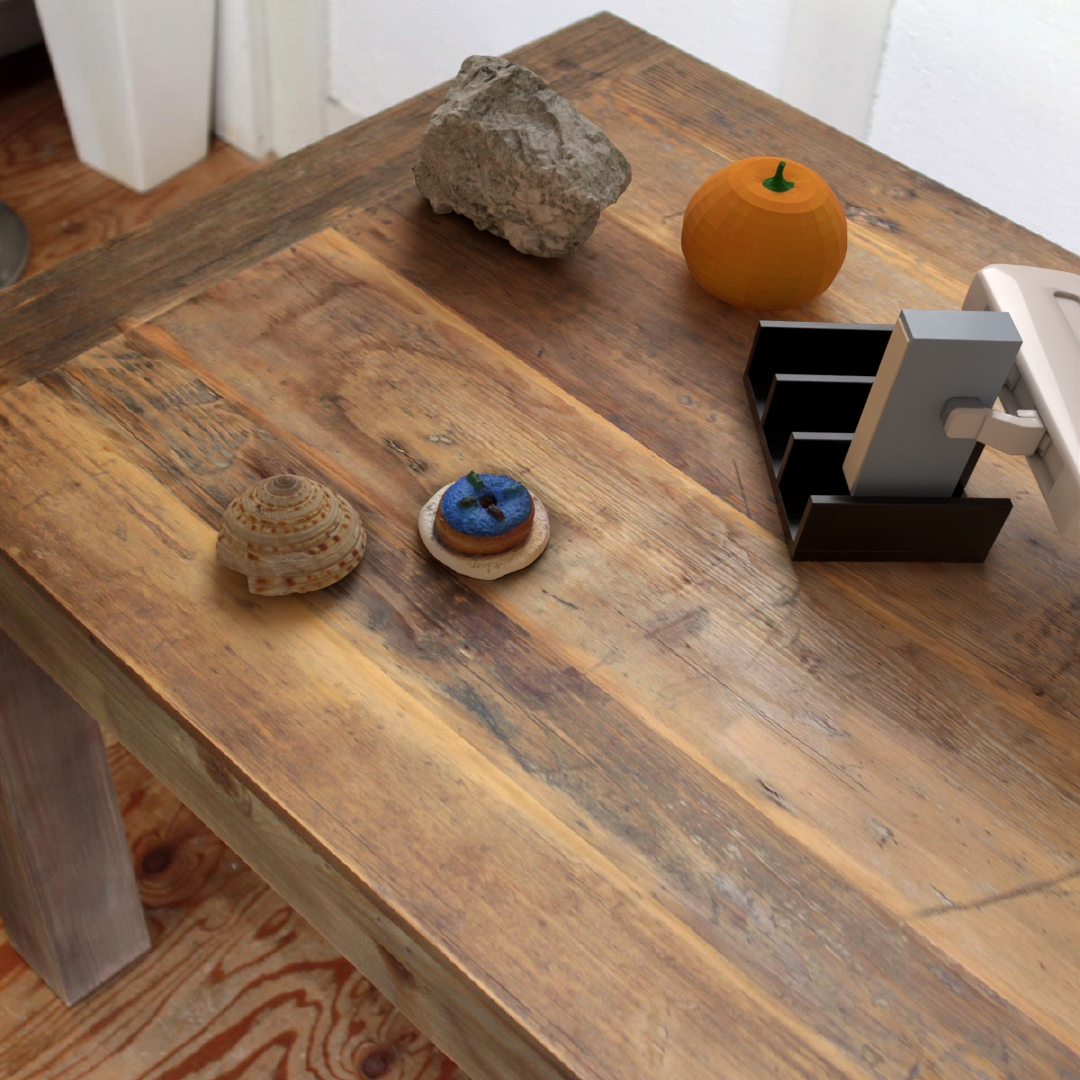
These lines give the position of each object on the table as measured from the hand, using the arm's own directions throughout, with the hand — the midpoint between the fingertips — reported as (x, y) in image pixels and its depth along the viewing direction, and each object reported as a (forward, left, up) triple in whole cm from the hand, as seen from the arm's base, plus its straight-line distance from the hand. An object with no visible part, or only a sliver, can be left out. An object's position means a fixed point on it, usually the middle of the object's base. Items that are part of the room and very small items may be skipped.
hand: (935, 393), depth 74 cm
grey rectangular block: (0, 0, -7) cm, 7 cm away
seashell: (-13, +33, -11) cm, 37 cm away
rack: (+5, +2, -11) cm, 12 cm away
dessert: (-8, +23, -11) cm, 27 cm away
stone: (+23, +29, -11) cm, 38 cm away
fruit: (+22, +11, -11) cm, 27 cm away
